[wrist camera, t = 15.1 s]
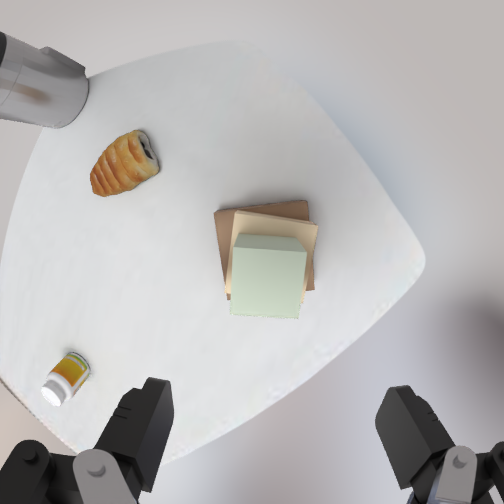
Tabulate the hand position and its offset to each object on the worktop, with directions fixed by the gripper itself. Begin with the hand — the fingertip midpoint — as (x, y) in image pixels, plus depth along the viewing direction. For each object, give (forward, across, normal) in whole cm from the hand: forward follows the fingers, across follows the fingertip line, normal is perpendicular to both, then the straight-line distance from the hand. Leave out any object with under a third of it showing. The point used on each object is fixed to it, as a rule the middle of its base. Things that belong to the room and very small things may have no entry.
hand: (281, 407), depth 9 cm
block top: (+23, 0, 0) cm, 23 cm away
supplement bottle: (+26, +30, +23) cm, 46 cm away
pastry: (+26, +18, -9) cm, 33 cm away
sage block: (+19, 0, 0) cm, 19 cm away
